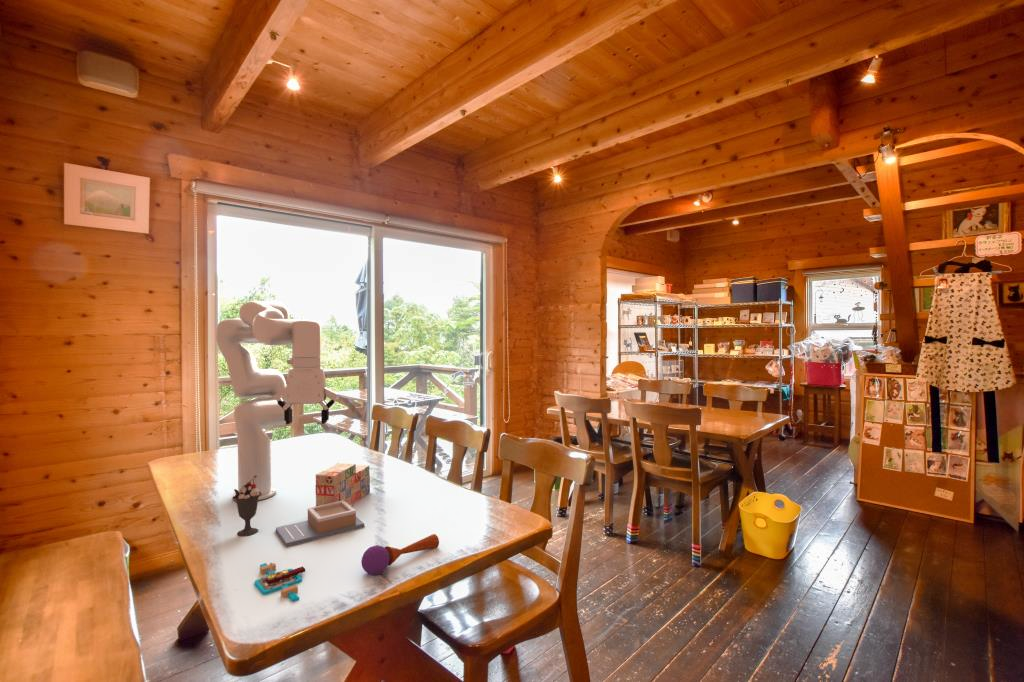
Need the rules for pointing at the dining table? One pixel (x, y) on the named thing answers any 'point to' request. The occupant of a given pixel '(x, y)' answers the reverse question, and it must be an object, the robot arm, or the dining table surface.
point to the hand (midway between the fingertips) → (306, 423)
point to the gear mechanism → (279, 581)
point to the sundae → (247, 506)
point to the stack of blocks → (342, 484)
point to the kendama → (393, 554)
